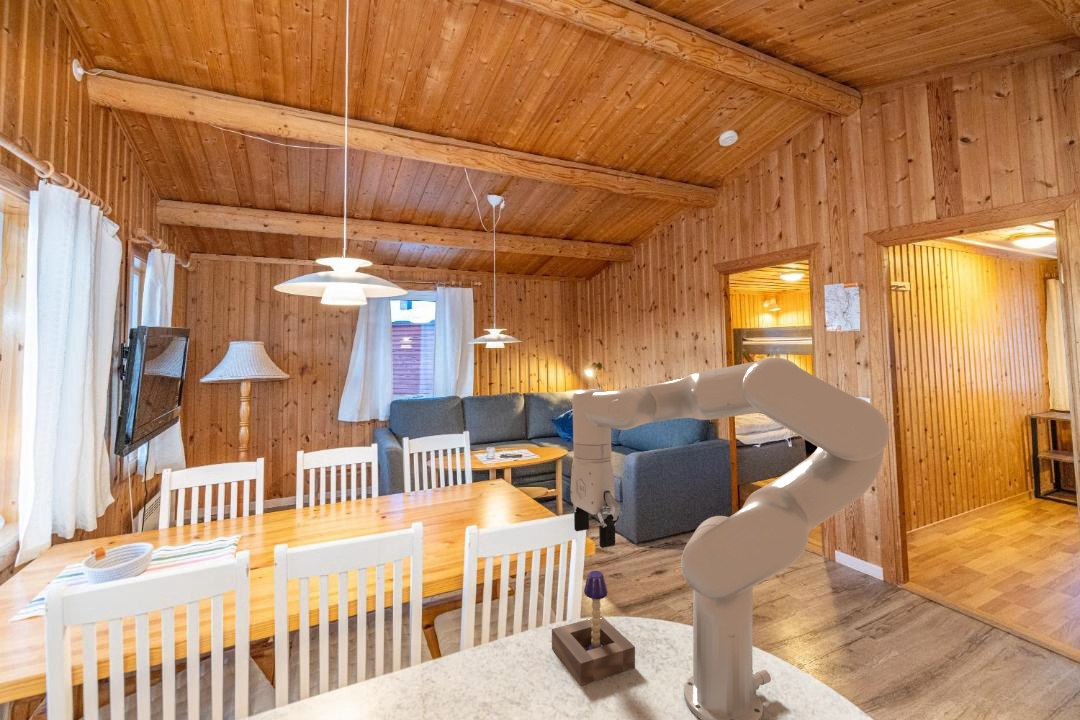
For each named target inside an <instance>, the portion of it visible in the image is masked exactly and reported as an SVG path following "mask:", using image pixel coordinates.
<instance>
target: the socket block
mask: <svg viewBox="0 0 1080 720" xmlns="http://www.w3.org/2000/svg"><path fill="white" fill-rule="evenodd" d="M600 618H602V619H600V638H599V639H600V644H601V645H602V647H598V648H595V649H592V650H588V651H586V648H587V646H588V645H589V644H591V640H592V636H591V633H592V629H591V625H592V617H591V618H589V619H590V620H588V619H584V620H581V621H577V622H573V623H570V624H569V623H568V624H565V625H561V626H558V627H554V628H551V649H552V651H553V652H554V653H555V655H556V656H557V657H558V659H560V661H561V663H562V664H563V665H564V666H565V667H566V669H567V670H568V671H569V672H570V674H571V675H572V677H573V678H574V680H576V682H577V683H578V684H579V686H584V685H586V684H591V683H593V682H596V681H599V680H602V679H604V678H605V679H606V678H608V677H611V676H614V675H618V674H620V673H622V672H623V673H624V672H625V671H629V670H632V669H635V668H636V647H635V645H634V644H632V642H631V641H629V639H627V637H625V636H624V635H623V634H622V633H621V632H620V631H619V630H618V629H617V628H616V627H614V625H612V623H610V622H609V621H608V620H607V619H606V618H605V617H604V616H602V615H600Z"/></svg>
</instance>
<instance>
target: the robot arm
mask: <svg viewBox="0 0 1080 720" xmlns="http://www.w3.org/2000/svg"><path fill="white" fill-rule="evenodd" d="M759 413H760V414H762V415H764V416H766V417H767V418H769V419H770V420H772V421H774V422H775V423H777V424H778V425H780V426H782V427H784V429H787V430H788V431H790V432H792V433H794V434H796V435H797V436H799V437H801V438H802V439H804V440H806V441H807V442H809V443H811V444H812V445H814V446H816V447H817V448H816V449H815V450H814V452H812V453H811V455H809V456H808V457H806V459H804V460H803V461H801V462H800V463H798V464H797V465H796V466H794V467H793V468H792V469H790V470H789V471H787V472H786V473H784V474H783V475H781V476H779V477H778V478H776V479H774V480H773V481H771V482H769V483H768V484H766V485H764V486H763V487H761V488H758V489H756V490H755V491H753V492H752V493H751V494H750V495H749V496H747V498H746V499H745V502H744V504H743V505H742V507H741V508H740V509H739V510H738V511H736V512H734V514H732V515H730V516H725V515H715V516H711V517H708V518H707V519H706V520H704V521H702V522H701V523H700V525H698V527H697V528H696V529H695V531H694V532H693V534H692V535H691V536H690V539H689V540H688V541H687V543H686V545H685V547H684V549H683V550H682V554H681V558H680V559H681V560H680V561H681V562H680V567H681V571H682V572H681V573H682V574H683V577H684V580H685V581H686V583H687V585H688V586H689V587H690V588H691V589H692V590H693V591H692V593H693V594H692V642H693V643H692V646H693V647H692V665H693V666H692V668H693V669H692V676H690V678H688V679H687V681H685V682H684V683H685V684H684V686H683V695H684V701H685V703H686V705H687V707H688V708H689V710H690V711H691V712H692V713H693V714H694V715H695V716H696V717H698V718H699V719H700V720H762V719H763V716H764V715H763V714H764V709H763V708H764V707H763V703H762V700H761V698H760V697H759V696H758V694H757V690H759V689H760V686H764V685H766V684H768V683H771V680H772V677H771V675H770V673H769V672H768V671H767V670H765V669H762V670H759V671H757V672H755V673H754V670H753V600H754V599H753V598H754V597H753V591H754V590H753V589H754V588H753V587H755V586H756V585H758V584H760V583H762V582H764V581H766V580H768V579H769V578H771V577H773V576H774V575H777V574H778V573H779V572H782V571H784V570H785V569H787V568H788V567H790V566H792V565H793V564H794V563H795V562H796V561H797V560H799V558H801V557H802V555H803V553H804V552H805V550H806V548H807V546H808V542H809V536H810V535H809V534H810V532H812V530H813V529H814V528H816V527H817V526H819V525H821V524H822V523H824V522H825V521H828V519H830V518H832V517H833V516H835V515H837V514H839V513H840V512H841V511H843V510H844V509H846V508H847V507H850V506H851V505H852V504H854V502H856V501H857V500H859V499H860V498H861V497H862V496H864V494H865V493H866V492H867V491H868V490H869V489H870V487H871V486H872V485H873V484H874V482H875V480H876V478H877V477H878V476H879V475H878V474H879V472H880V469H881V467H882V464H883V463H882V462H883V459H884V451H885V448H886V446H887V445H888V442H889V439H890V428H889V423H888V422H887V420H886V418H885V416H884V415H883V414H882V412H881V411H880V410H879V409H878V408H876V407H875V406H874V405H873V404H872V403H870V402H868V401H867V400H865V399H863V398H860V397H856V396H854V395H851V394H849V393H848V392H845V391H844V390H841V389H839V388H838V387H836V386H834V385H832V384H830V383H828V382H826V381H824V380H822V379H821V378H819V377H817V376H815V375H813V374H811V373H809V372H808V371H807V370H805V369H803V368H801V367H799V366H798V365H797V364H796V363H794V362H793V361H791V360H789V359H786V358H782V357H769V358H764V359H761V360H755V361H752V362H746V363H741V364H735V365H730V366H726V367H720V368H714V369H710V370H704V371H698V372H695V373H690V374H689V375H687V376H685V377H682V378H680V379H675V380H671V381H670V380H669V381H665V382H661V383H654V384H649V385H643V386H638V387H630V388H629V387H628V388H623V389H617V390H609V391H607V390H604V389H597V388H596V389H595V388H594V389H590V388H588V389H579V390H576V391H574V393H573V394H572V431H573V433H572V435H573V437H572V441H573V459H572V464H571V472H570V473H571V474H570V475H571V477H570V487H569V489H570V502H571V503H572V504H573V505H572V510H573V514H574V515H573V518H574V519H573V521H574V526H573V527H574V528H573V529H574V531H575V532H582V531H586V530H589V529H590V516H589V515H596V514H597V517H598V519H599V522H600V524H601V525H598V531H599V532H598V534H599V538H598V539H599V542H598V543H599V547H600V548H601V549H603V548H609V547H613V546H616V525H617V522H618V520H619V515H620V513H621V506H620V505H619V503H618V502H617V500H616V496H615V493H616V492H615V480H614V470H613V465H612V429H615V430H620V431H621V430H622V431H625V430H626V431H628V430H631V429H634V428H636V427H639V426H642V425H647V424H650V423H656V422H662V421H663V422H664V421H670V420H676V419H677V420H678V419H679V420H680V419H695V420H699V421H711V420H717V419H725V418H731V417H737V416H745V415H751V414H752V415H753V414H759ZM605 514H606V515H607V516H606V517H605Z"/></svg>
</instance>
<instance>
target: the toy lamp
mask: <svg viewBox="0 0 1080 720" xmlns="http://www.w3.org/2000/svg"><path fill="white" fill-rule="evenodd" d="M583 593H584V595H585V596H586V598H590V599H591V608H592V609H591V618H592V625H591V629H592V633H591V636H592V640H591V644H589V645H588V646H587V648H585V650H586V651H588V650H592V649H595V648H598V647H602V645H601V644H600V639H599V638H600V616H601V607H602V606H601V600H603V599H604V598H606V597H607V595H608V588H607V585H606V580H605V577H604V573H603V572H602V571H599V570H591V571H589V573H588V574H587V577H586V581H585V584H584V590H583Z"/></svg>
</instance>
